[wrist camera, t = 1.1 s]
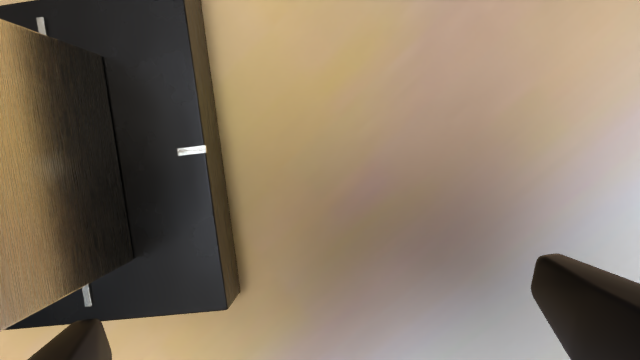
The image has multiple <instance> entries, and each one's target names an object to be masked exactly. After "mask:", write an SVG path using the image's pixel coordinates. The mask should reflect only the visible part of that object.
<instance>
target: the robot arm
mask: <svg viewBox="0 0 640 360" xmlns="http://www.w3.org/2000/svg"><path fill="white" fill-rule="evenodd" d="M531 291H532V295H533V297H534V299H535V301H536V303H537V304H538V306H539V308H540V309H541V311H542V313H543V314H544V316H545V318H546V319H547V321H548V323H549V324H550V326H551V328H552V329H553V331H554V333H555V334H556V336H557V338H558V339H559V341H560V343H561V344H562V346H563V348H564V349H565V351H566V352H567V354H568V356H569V357H570V359H571V360H640V284H639V283H636V282H634V281H631V280H628V279H626V278H623V277H620V276H618V275H615V274H612V273H610V272H607V271H604V270H602V269H599V268H596V267H593V266H591V265H588V264H585V263H583V262H580V261H577V260H575V259H572V258H569V257H567V256H564V255H561V254H549V255H542V256H540V257H539V258H538V259H537V261H536V265H535V269H534V274H533V279H532V283H531ZM28 360H112V353H111V348H110V345H109V342H108V339H107V337H106V334H105V331H104V328H103V325H102V323H101V321H100V320H99V319H96V318H93V319H86V320H79V321H75V322H73V323H72V324H70V325H69V326H68V327H67V328H66V329H64V330H63V331H62V332H61V333H59V334H58V335H57V336H56V337H55V338H53V339H52V340H51V341H50V342H49V343H47V344H46V345H45V346H44V347H42V348H41V349H40V350H39V351H38V352H36V353H35V354H34V355H33V356H32V357H30V358H29V359H28Z"/></svg>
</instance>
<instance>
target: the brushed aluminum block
mask: <svg viewBox="0 0 640 360" xmlns="http://www.w3.org/2000/svg"><path fill="white" fill-rule="evenodd" d="M132 260H133V252H132V246H131V240H130V233H129V227H128V221H127V214H126V208H125V201H124V195H123V189H122V182H121V176H120V170H119V163H118V157H117V151H116V144H115V138H114V132H113V125H112V119H111V113H110V106H109V100H108V94H107V87H106V81H105V75H104V68H103V62H102V56H101V55H99V54H96V53H93V52H90V51H88V50H85V49H82V48H79V47H77V46H74V45H71V44H68V43H66V42H63V41H60V40H57V39H55V38H52V37H49V36H46V35H43V34H41V33H38V32H35V31H32V30H30V29H27V28H24V27H21V26H19V25H16V24H13V23H10V22H8V21H5V20H2V19H0V331H2V330H4V329H6V328H8V327H10V326H11V325H13V324H15V323H17V322H19V321H21V320H23V319H24V318H26V317H28V316H30V315H32V314H34V313H36V312H37V311H39V310H41V309H43V308H45V307H47V306H49V305H50V304H52V303H54V302H56V301H58V300H60V299H62V298H63V297H65V296H67V295H69V294H71V293H73V292H75V291H76V290H78V289H80V288H82V287H84V286H86V285H88V284H89V283H91V282H93V281H95V280H97V279H99V278H101V277H102V276H104V275H106V274H108V273H110V272H112V271H114V270H115V269H117V268H119V267H121V266H123V265H125V264H127V263H128V262H130V261H132Z"/></svg>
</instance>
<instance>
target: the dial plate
mask: <svg viewBox="0 0 640 360" xmlns="http://www.w3.org/2000/svg"><path fill="white" fill-rule="evenodd" d="M0 19H2V20H5V21H8V22H10V23H13V24H16V25H19V26H21V27H24V28H27V29H30V30H32V31H35V32H38V33H41V34H43V35H46V36H49V37H52V38H55V39H57V40H60V41H63V42H66V43H68V44H71V45H74V46H77V47H79V48H82V49H85V50H88V51H90V52H93V53H96V54H99V55H101V56H102V62H103V68H104V75H105V81H106V87H107V94H108V100H109V106H110V113H111V119H112V125H113V132H114V138H115V144H116V151H117V157H118V163H119V170H120V176H121V182H122V189H123V195H124V201H125V208H126V214H127V221H128V227H129V233H130V240H131V246H132V252H133V260H132V261H130V262H128V263H127V264H125V265H123V266H121V267H119V268H117V269H115V270H114V271H112V272H110V273H108V274H106V275H104V276H102V277H101V278H99V279H97V280H95V281H93V282H91V283H89V284H88V285H86V286H84V287H82V288H80V289H78V290H76V291H75V292H73V293H71V294H69V295H67V296H65V297H63V298H62V299H60V300H58V301H56V302H54V303H52V304H50V305H49V306H47V307H45V308H43V309H41V310H39V311H37V312H36V313H34V314H32V315H30V316H28V317H26V318H24V319H23V320H21V321H19V322H17V323H15V324H13V325H11V326H10V327H8V328H6V329H4V330H10V329H21V328H32V327H43V326H54V325H65V324H72V323H73V322H75V321H79V320H86V319H93V318H96V319H99V320H100V321H109V320H120V319H131V318H143V317H154V316H165V315H176V314H187V313H198V312H209V311H220V310H227V309H228V308H229V307H230V305H231V304H232V303H233V301H234V300H235V298H236V297H237V296H238V294H239V293H240V286H239V279H238V271H237V264H236V257H235V250H234V242H233V235H232V228H231V221H230V213H229V206H228V199H227V192H226V184H225V177H224V170H223V162H222V155H221V148H220V141H219V133H218V126H217V119H216V112H215V104H214V97H213V90H212V83H211V75H210V68H209V61H208V53H207V46H206V39H205V32H204V24H203V17H202V10H201V3H200V0H34V1H28V2H21V3H15V4H8V5H2V6H0Z"/></svg>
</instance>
